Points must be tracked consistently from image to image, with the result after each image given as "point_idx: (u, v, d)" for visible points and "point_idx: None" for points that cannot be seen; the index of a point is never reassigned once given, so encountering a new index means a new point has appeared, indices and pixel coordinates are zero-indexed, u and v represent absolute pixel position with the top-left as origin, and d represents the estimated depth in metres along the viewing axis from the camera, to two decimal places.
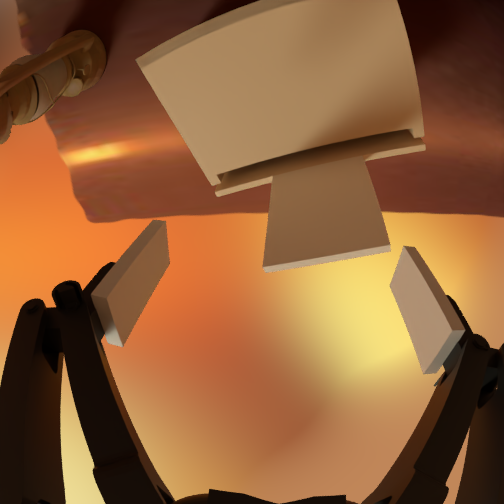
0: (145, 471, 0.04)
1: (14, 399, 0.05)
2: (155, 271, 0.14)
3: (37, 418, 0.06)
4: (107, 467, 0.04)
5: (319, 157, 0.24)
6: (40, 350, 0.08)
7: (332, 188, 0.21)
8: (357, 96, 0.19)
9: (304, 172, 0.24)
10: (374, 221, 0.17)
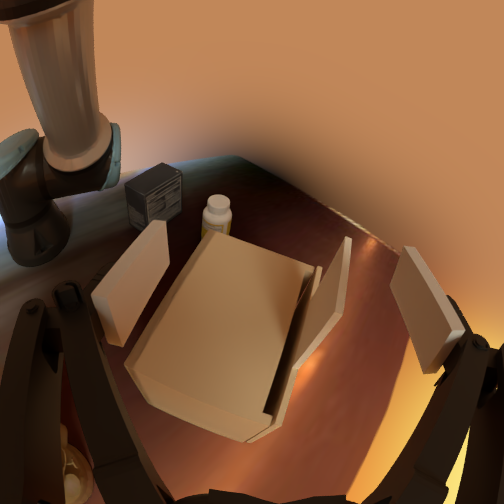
0: (145, 471, 0.04)
1: (14, 399, 0.05)
2: (155, 271, 0.14)
3: (37, 418, 0.06)
4: (107, 466, 0.04)
5: (299, 334, 0.29)
6: (40, 349, 0.08)
7: (315, 305, 0.26)
8: (267, 285, 0.33)
9: (301, 339, 0.27)
10: (335, 257, 0.25)
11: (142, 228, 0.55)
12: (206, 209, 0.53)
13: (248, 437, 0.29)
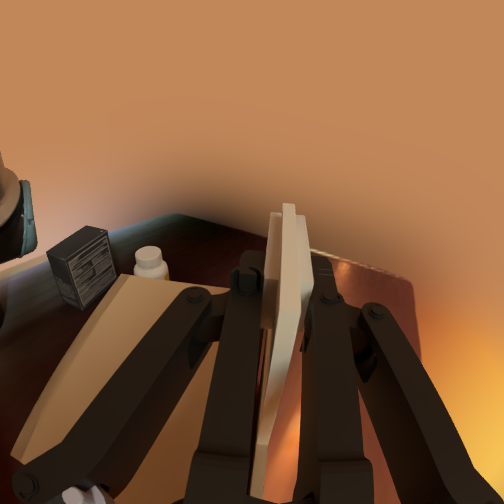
0: (247, 475, 0.05)
1: (131, 385, 0.07)
2: None
3: (147, 412, 0.07)
4: (211, 455, 0.05)
5: None
6: (186, 344, 0.09)
7: (269, 335, 0.15)
8: None
9: None
10: None
11: (74, 302, 0.42)
12: (136, 266, 0.42)
13: None
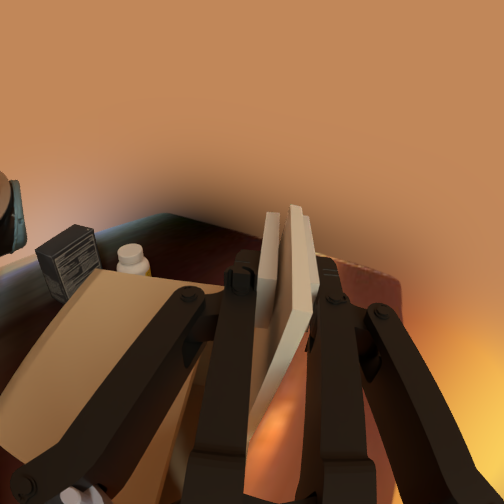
0: (244, 475, 0.05)
1: (127, 385, 0.07)
2: None
3: (143, 411, 0.07)
4: (207, 455, 0.05)
5: None
6: (180, 343, 0.09)
7: (260, 332, 0.16)
8: None
9: None
10: (280, 244, 0.15)
11: (61, 299, 0.43)
12: (119, 263, 0.42)
13: None
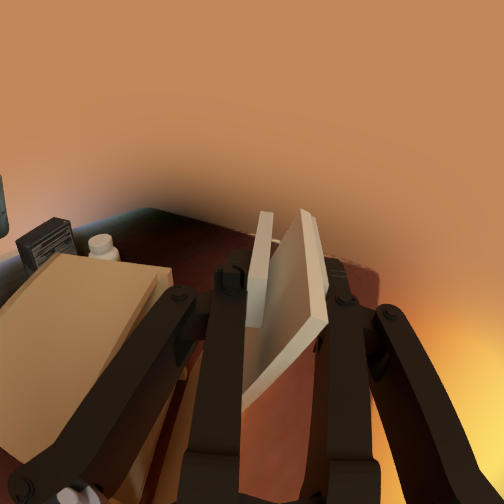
0: (238, 473, 0.05)
1: (119, 384, 0.07)
2: None
3: (136, 410, 0.07)
4: (201, 454, 0.05)
5: None
6: (172, 342, 0.09)
7: None
8: (99, 296, 0.21)
9: None
10: (281, 245, 0.15)
11: None
12: (90, 252, 0.42)
13: None
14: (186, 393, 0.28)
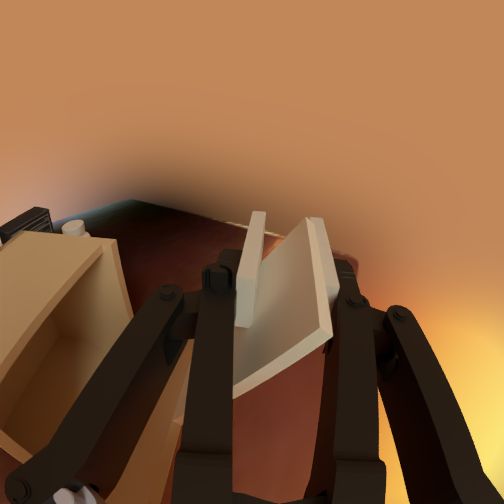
0: (231, 472, 0.05)
1: (111, 383, 0.07)
2: None
3: (129, 409, 0.07)
4: (194, 454, 0.05)
5: (182, 366, 0.17)
6: (161, 341, 0.09)
7: None
8: (46, 264, 0.20)
9: None
10: (279, 248, 0.16)
11: None
12: None
13: None
14: None
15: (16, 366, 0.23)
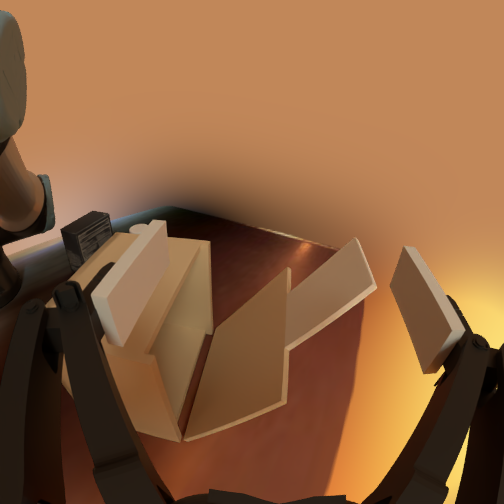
0: (145, 471, 0.04)
1: (14, 399, 0.05)
2: (155, 271, 0.14)
3: (37, 418, 0.06)
4: (107, 466, 0.04)
5: (278, 321, 0.30)
6: (40, 349, 0.08)
7: (311, 292, 0.28)
8: None
9: (289, 323, 0.28)
10: (340, 253, 0.28)
11: None
12: None
13: (169, 420, 0.25)
14: (220, 340, 0.40)
15: None
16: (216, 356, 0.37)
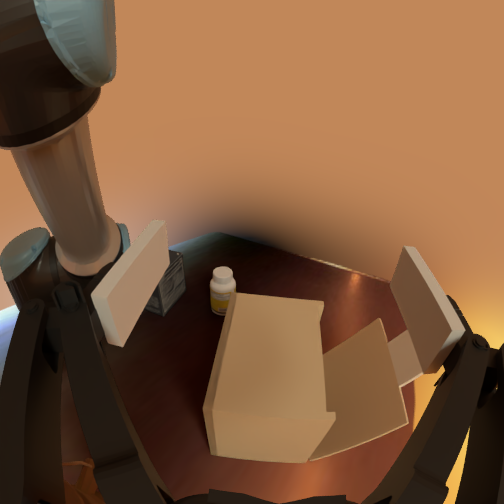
0: (145, 471, 0.04)
1: (14, 399, 0.05)
2: (155, 271, 0.14)
3: (37, 418, 0.06)
4: (107, 466, 0.04)
5: (386, 365, 0.36)
6: (40, 350, 0.08)
7: (412, 345, 0.35)
8: (293, 322, 0.39)
9: (397, 367, 0.34)
10: None
11: (156, 310, 0.60)
12: (212, 281, 0.60)
13: (313, 450, 0.31)
14: None
15: None
16: None
